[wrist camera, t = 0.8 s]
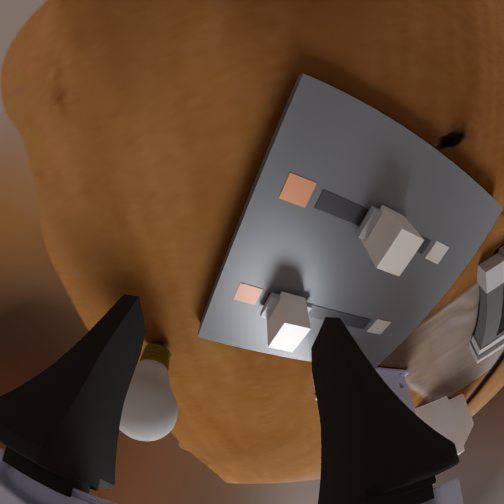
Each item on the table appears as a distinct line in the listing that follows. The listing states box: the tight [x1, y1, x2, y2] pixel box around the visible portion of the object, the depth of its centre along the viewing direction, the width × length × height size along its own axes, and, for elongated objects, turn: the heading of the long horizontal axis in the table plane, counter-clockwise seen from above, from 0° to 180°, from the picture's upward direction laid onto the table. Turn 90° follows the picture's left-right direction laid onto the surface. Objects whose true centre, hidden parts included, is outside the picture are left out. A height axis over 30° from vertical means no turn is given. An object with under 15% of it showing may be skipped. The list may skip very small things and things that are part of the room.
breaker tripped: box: [356, 205, 424, 276], centre depth 15 cm, size 3×3×3 cm
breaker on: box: [260, 291, 312, 352], centre depth 18 cm, size 3×3×3 cm
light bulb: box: [119, 343, 178, 441], centre depth 21 cm, size 6×6×10 cm
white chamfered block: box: [415, 393, 474, 455], centre depth 34 cm, size 11×11×12 cm
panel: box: [198, 74, 503, 369], centre depth 19 cm, size 18×20×2 cm
